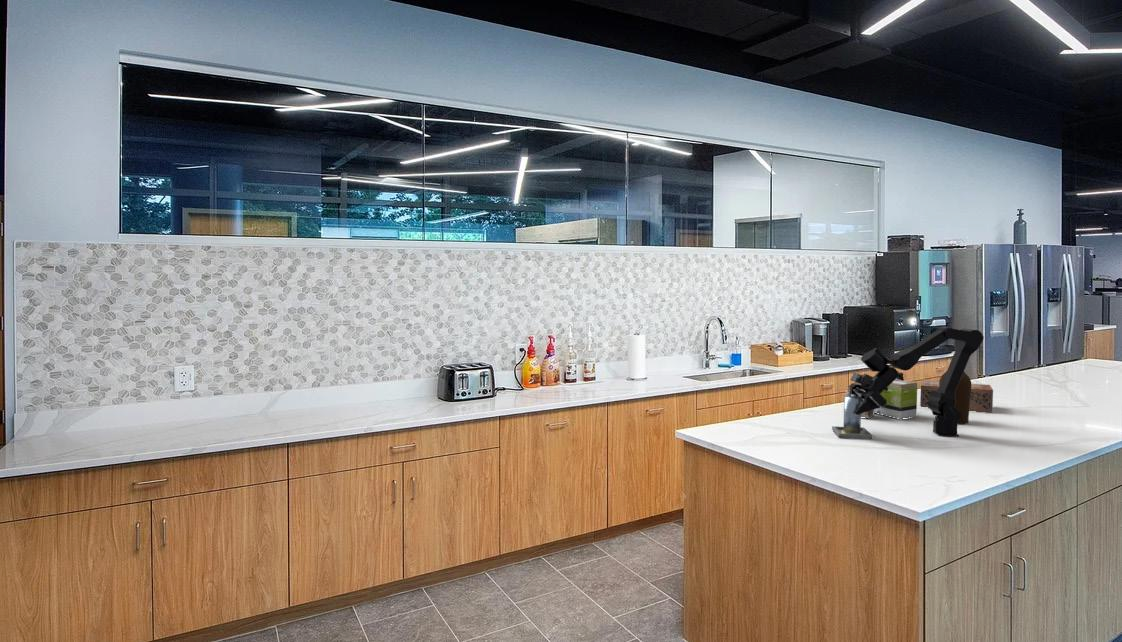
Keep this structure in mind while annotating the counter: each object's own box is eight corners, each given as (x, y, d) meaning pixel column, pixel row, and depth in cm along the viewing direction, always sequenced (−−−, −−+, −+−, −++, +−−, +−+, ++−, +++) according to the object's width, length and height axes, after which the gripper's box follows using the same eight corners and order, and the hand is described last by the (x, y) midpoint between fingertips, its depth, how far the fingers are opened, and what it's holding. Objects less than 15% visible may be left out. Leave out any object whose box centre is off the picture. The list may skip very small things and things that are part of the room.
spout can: (854, 430, 226) (855, 388, 224) (863, 434, 220) (864, 390, 219) (840, 430, 225) (841, 388, 224) (848, 434, 219) (849, 391, 218)
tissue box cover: (989, 407, 266) (989, 384, 266) (992, 414, 254) (993, 390, 253) (920, 402, 279) (920, 380, 279) (920, 408, 267) (920, 385, 266)
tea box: (867, 413, 257) (868, 378, 256) (884, 410, 262) (884, 376, 261) (900, 420, 244) (901, 383, 243) (917, 417, 248) (918, 381, 247)
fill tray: (863, 431, 227) (863, 427, 227) (872, 439, 216) (872, 434, 216) (831, 430, 229) (832, 426, 229) (838, 438, 218) (838, 433, 218)
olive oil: (964, 426, 233) (966, 360, 232) (933, 421, 241) (935, 358, 240) (974, 421, 240) (976, 358, 238) (943, 417, 248) (945, 355, 246)
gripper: (854, 361, 230) (824, 391, 231) (878, 368, 211) (845, 400, 212) (875, 382, 230) (845, 411, 231) (901, 391, 212) (868, 423, 213)
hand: (850, 411), depth 222 cm, fingers open, 9 cm apart
